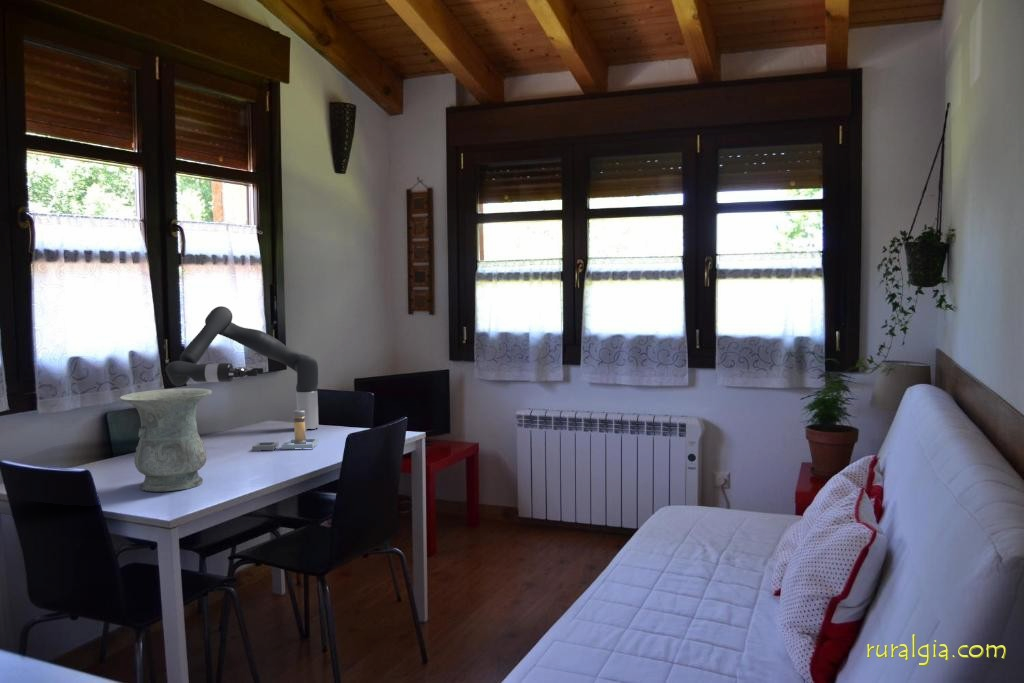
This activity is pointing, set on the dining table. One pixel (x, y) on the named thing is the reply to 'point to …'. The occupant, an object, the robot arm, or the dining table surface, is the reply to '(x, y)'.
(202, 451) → the vessel
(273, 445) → the socket block
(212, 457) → the dining table surface
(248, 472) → the dining table surface
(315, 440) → the parts tray
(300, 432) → the grey capped cylinder
